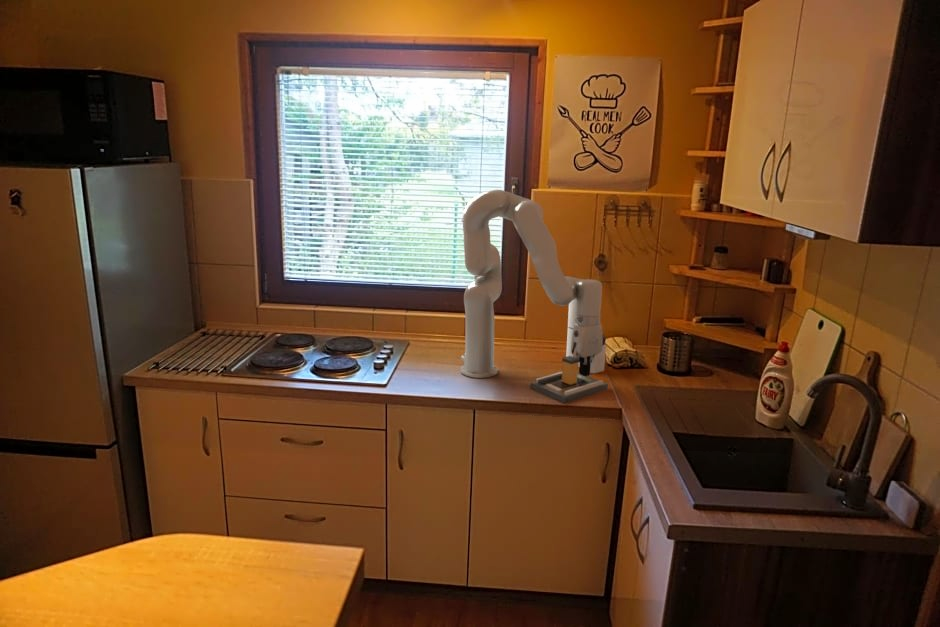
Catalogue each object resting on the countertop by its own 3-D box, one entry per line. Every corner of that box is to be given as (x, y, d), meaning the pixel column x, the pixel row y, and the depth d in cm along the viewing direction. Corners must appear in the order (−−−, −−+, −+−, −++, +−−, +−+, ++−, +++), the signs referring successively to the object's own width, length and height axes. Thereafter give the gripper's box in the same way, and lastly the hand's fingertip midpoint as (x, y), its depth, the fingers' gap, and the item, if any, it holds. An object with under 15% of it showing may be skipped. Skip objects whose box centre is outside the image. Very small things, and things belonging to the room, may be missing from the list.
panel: (530, 388, 198) (530, 381, 198) (572, 375, 209) (573, 369, 209) (564, 403, 187) (564, 397, 186) (607, 389, 198) (607, 383, 197)
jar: (590, 375, 210) (592, 340, 207) (573, 367, 217) (575, 334, 213) (609, 370, 215) (611, 336, 212) (592, 363, 221) (594, 330, 218)
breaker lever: (561, 381, 198) (562, 357, 196) (568, 379, 200) (569, 355, 198) (570, 384, 195) (571, 361, 193) (577, 382, 197) (578, 359, 195)
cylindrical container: (571, 356, 229) (575, 289, 222) (589, 360, 225) (594, 291, 218) (562, 361, 223) (565, 292, 217) (580, 365, 219) (584, 295, 213)
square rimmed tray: (535, 381, 198) (535, 378, 198) (571, 371, 207) (571, 368, 207) (566, 395, 187) (566, 392, 187) (603, 384, 197) (603, 381, 196)
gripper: (579, 325, 189) (576, 383, 194) (613, 318, 198) (609, 373, 202) (562, 320, 195) (559, 376, 199) (595, 313, 203) (591, 366, 208)
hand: (584, 374), depth 201 cm, fingers closed
